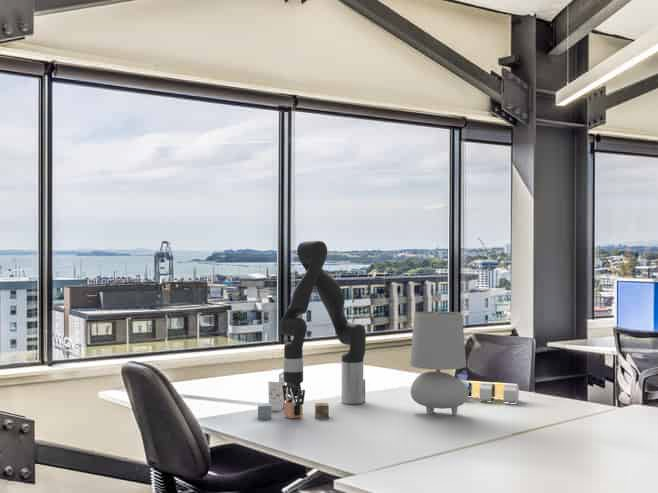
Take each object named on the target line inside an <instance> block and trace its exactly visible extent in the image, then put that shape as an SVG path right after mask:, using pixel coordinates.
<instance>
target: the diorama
mask: <svg viewBox="0 0 658 493" xmlns="http://www.w3.org/2000/svg"><path fill="white" fill-rule="evenodd" d="M462 373H463V374H462ZM456 376H457V377H456V378H457V379H459V380H461V381H462V382H463V383H464V384H466V386H467V387H468V390H469V396H480V398H479V401H480V400H481V401H492V400H493V399H492V397H495V398H504V400H503V403H504V402H509V403H516V402H517V401H518V402H519V396H520V395H519V394H520V393H519V389H520V388H519V384H518V383H509V382H495V381H494V382H492V381H491V382H490V381H478V380H477V381H476V380H468V376H469V374H467V371H466V370H462V371H461V372H460V373H459V374H456ZM467 400H468V401H469V398H468V399H467ZM492 402H493V401H492ZM518 402H517V403H518Z"/></svg>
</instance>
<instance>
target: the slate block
mask: <svg viewBox="0 0 658 493" xmlns="http://www.w3.org/2000/svg"><path fill="white" fill-rule="evenodd" d="M271 419H272V411H271V403H269V402H268V403H265V402H264V403H258V404H257V420H271Z"/></svg>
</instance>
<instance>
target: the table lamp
mask: <svg viewBox="0 0 658 493" xmlns="http://www.w3.org/2000/svg"><path fill="white" fill-rule="evenodd" d="M412 324H413V326H412V339H411V352H410V367H413V368H417V369H423V370H424V369H425V370H435V371H427V372H424V373H421V374H419V375H417V377H416V378H415V379H414V380H413V381H412V384H411V386H410V396H411V398H412V400H413V401H414V402H416V403H417V404H418V405H420V406H423V407H425V408H426V409H425V410H426V415H432V413H431V412H433V413H434V412H435V409H450V410H451V414H452V416H453V415H456V416H457V415H458V408H459V407H461V406H462V405H464V404H465V403H466V402H468V401H467V399H468V400H469V397H468V396H469V390H468V387H467V386H466V384H464V383H463V382H462V381H461V380H459V379H458V377H455V376H454V375H451V374H449V373H447V372H442V370H444V371H445V370H447V371H448V370H460V369H465V368H466V367H467V358H466V347H465V346H466V345H465V333H464V332H465V331H464V319H463V313H461V312H456V311H417V312H414V313H413V323H412Z"/></svg>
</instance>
